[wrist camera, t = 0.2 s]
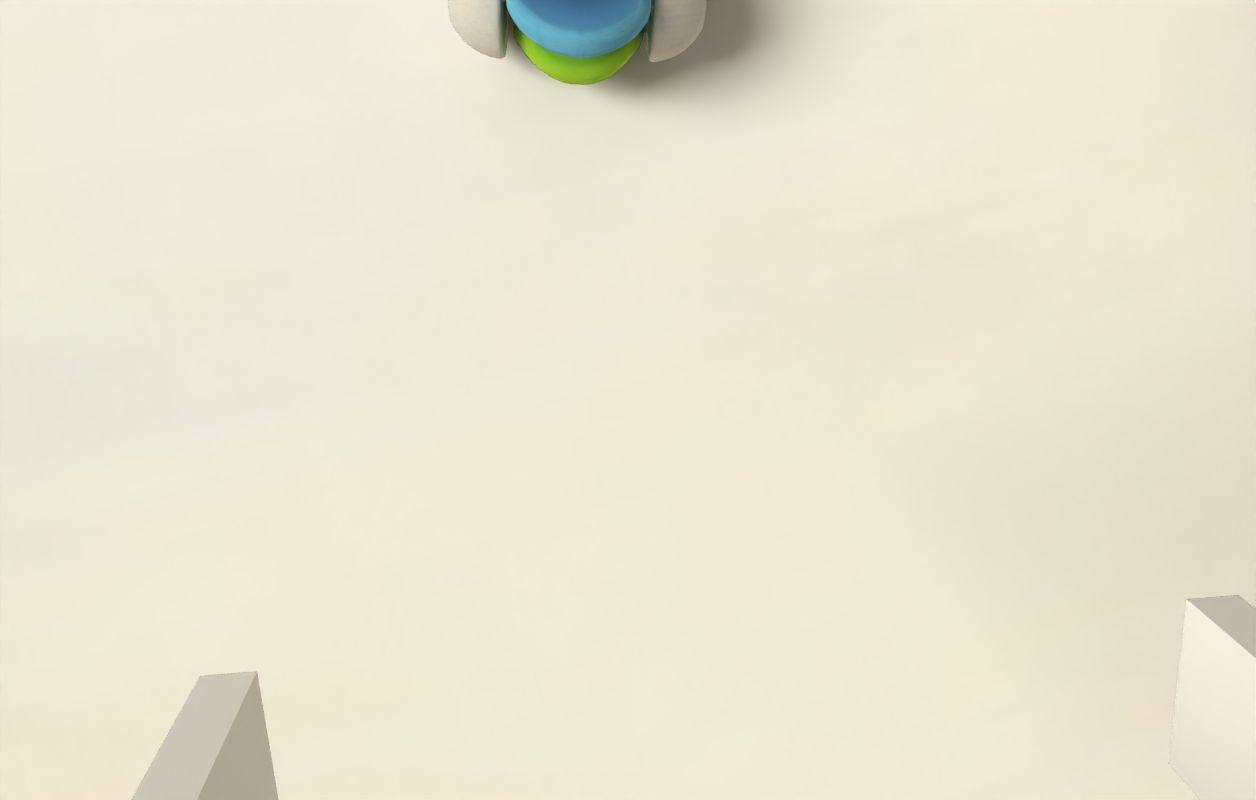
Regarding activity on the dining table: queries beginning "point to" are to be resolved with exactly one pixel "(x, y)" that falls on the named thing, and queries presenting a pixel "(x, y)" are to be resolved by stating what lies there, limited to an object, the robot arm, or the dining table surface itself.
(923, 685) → the dining table surface
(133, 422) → the dining table surface
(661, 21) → the rainbow petal toy
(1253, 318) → the dining table surface
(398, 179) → the dining table surface
